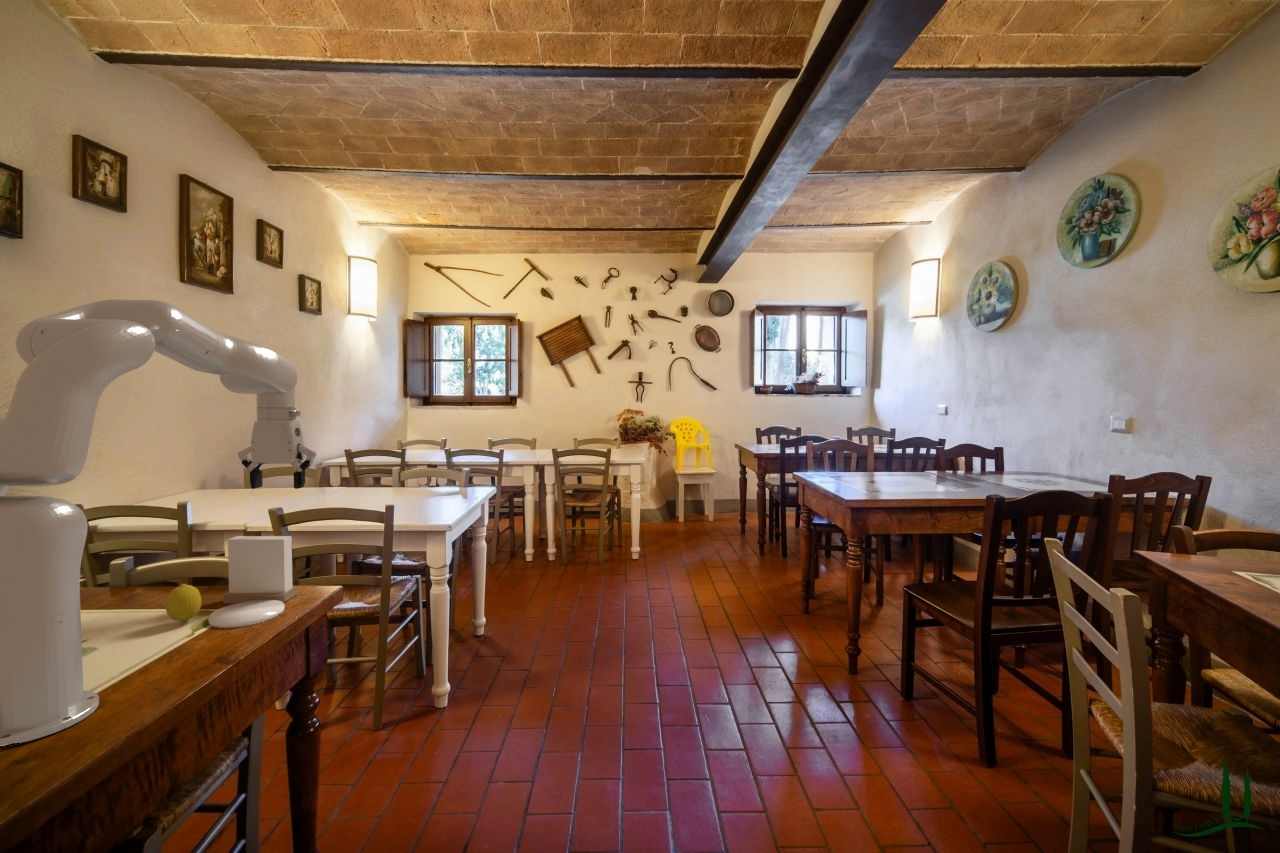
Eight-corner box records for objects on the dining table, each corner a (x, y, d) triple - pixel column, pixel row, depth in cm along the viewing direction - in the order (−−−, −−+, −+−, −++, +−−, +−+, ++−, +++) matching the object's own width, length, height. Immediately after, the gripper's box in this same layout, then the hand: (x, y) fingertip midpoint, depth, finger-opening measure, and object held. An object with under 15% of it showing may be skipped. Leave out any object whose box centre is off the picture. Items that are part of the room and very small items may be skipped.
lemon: (186, 628, 109) (185, 588, 108) (158, 628, 109) (157, 588, 108) (209, 617, 114) (208, 579, 114) (182, 617, 114) (181, 579, 114)
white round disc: (260, 627, 110) (260, 622, 110) (191, 628, 109) (191, 623, 109) (297, 603, 123) (297, 599, 123) (236, 604, 122) (236, 599, 122)
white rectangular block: (284, 603, 123) (283, 540, 122) (223, 603, 122) (222, 540, 122) (297, 595, 128) (296, 535, 127) (239, 595, 127) (237, 535, 127)
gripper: (322, 415, 134) (323, 485, 135) (248, 414, 133) (250, 485, 134) (305, 416, 127) (307, 490, 128) (227, 415, 126) (229, 490, 127)
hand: (278, 487), depth 131 cm, fingers open, 9 cm apart
